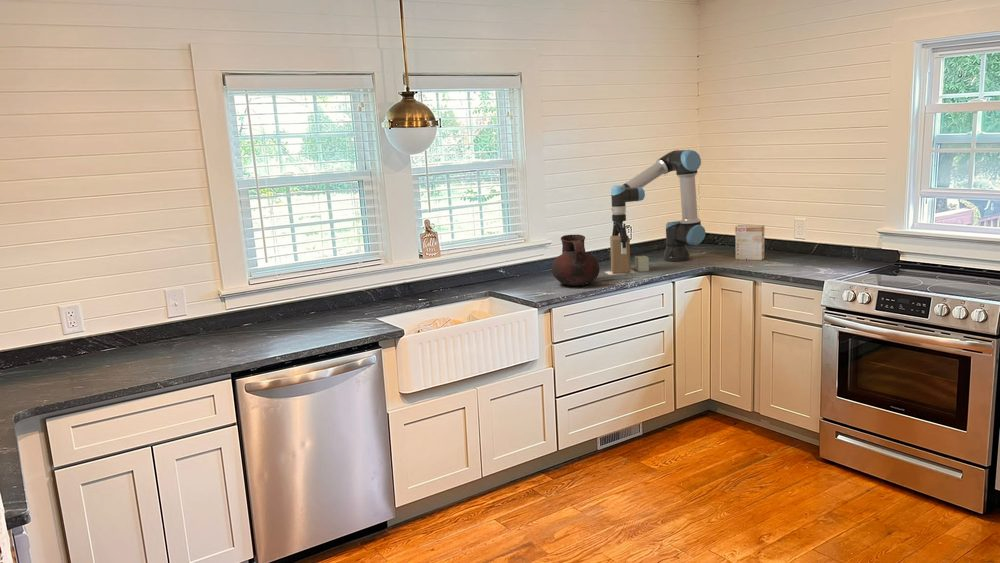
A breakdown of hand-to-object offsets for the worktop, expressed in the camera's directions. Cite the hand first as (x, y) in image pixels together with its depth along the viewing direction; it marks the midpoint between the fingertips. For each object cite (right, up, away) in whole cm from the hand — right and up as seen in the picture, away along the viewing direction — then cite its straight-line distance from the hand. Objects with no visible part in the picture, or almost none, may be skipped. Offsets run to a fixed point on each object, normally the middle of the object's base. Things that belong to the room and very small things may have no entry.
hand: (620, 252), depth 410 cm
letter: (+1, -11, +2) cm, 12 cm away
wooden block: (+1, -11, +2) cm, 11 cm away
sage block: (+13, -10, +4) cm, 17 cm away
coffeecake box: (+79, -3, +20) cm, 81 cm away
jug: (-27, -18, -23) cm, 39 cm away
